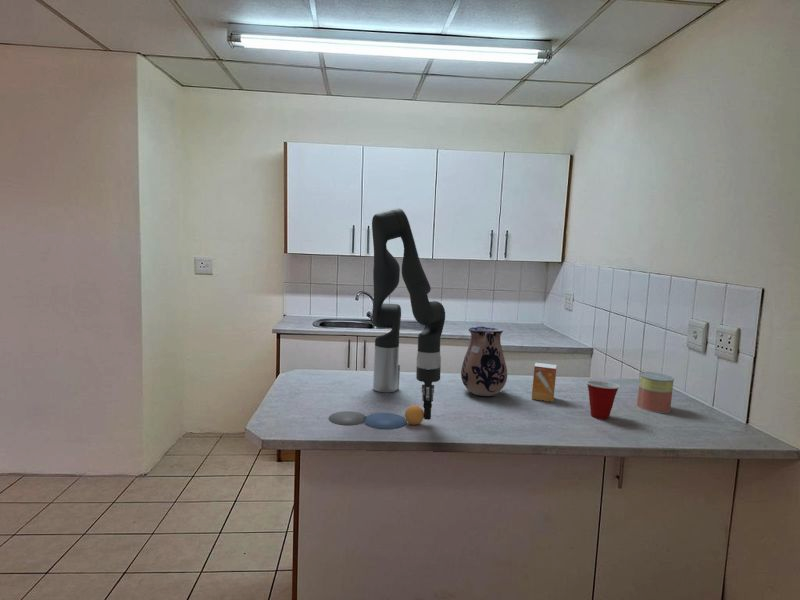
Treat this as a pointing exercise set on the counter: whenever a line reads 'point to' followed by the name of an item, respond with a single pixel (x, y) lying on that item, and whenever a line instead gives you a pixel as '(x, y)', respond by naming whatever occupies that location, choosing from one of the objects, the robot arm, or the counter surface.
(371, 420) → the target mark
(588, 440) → the counter surface
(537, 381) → the small box
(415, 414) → the ball
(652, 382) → the canned food
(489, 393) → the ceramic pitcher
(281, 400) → the counter surface
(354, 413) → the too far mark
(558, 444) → the counter surface
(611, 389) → the plastic cup
